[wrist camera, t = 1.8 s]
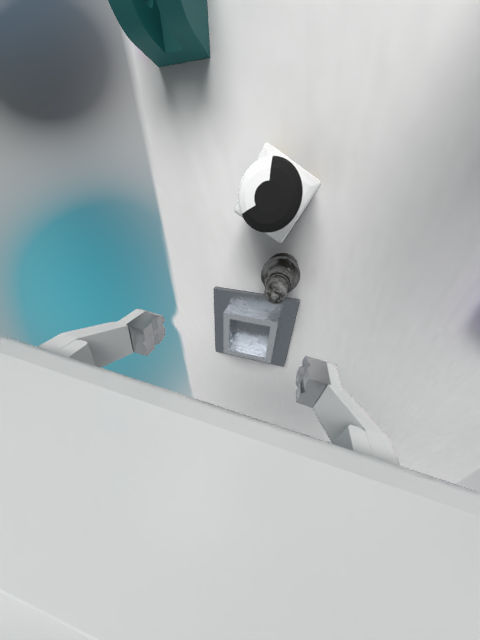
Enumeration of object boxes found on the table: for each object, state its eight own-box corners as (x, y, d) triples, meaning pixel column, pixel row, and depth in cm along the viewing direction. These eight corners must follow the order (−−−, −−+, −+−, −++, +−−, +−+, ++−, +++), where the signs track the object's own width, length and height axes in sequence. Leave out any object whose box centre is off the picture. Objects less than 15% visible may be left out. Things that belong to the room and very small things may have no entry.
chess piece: (270, 289, 34) (258, 325, 25) (259, 258, 32) (242, 283, 22) (303, 280, 32) (305, 315, 22) (294, 245, 30) (292, 268, 20)
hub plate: (299, 299, 34) (299, 310, 31) (284, 363, 43) (282, 376, 39) (215, 286, 37) (207, 295, 34) (217, 348, 46) (210, 360, 43)
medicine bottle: (317, 186, 25) (328, 177, 15) (284, 235, 29) (276, 253, 20) (273, 153, 25) (255, 123, 15) (246, 208, 29) (218, 213, 19)
